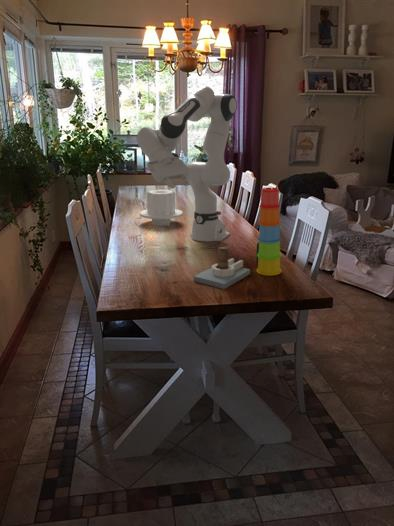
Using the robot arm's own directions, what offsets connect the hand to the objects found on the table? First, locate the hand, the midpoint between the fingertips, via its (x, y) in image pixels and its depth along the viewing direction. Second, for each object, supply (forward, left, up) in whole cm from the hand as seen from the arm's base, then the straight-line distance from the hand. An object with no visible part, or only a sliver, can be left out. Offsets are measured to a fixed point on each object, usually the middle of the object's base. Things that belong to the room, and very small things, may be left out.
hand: (180, 186), depth 183 cm
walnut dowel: (+6, +25, -31) cm, 41 cm away
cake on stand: (-49, -52, -33) cm, 79 cm away
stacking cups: (-11, +37, -33) cm, 51 cm away
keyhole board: (+6, +25, -33) cm, 42 cm away
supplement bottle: (-20, +30, -33) cm, 49 cm away
